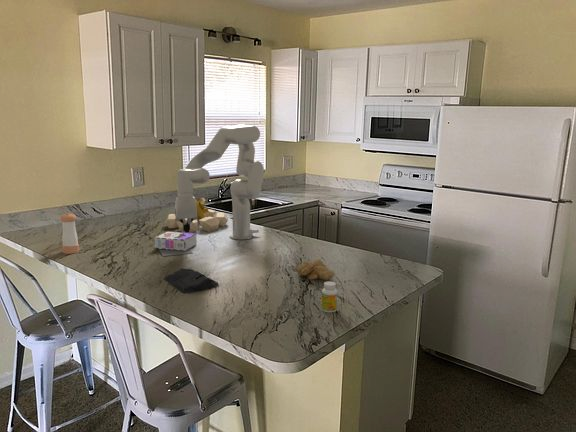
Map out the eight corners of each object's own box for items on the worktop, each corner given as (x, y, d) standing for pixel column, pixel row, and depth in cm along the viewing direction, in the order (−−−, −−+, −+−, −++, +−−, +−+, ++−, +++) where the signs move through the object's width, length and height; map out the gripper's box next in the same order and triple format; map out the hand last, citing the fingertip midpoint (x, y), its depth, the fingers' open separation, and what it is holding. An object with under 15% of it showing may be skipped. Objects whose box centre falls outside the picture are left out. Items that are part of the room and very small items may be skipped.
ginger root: (293, 267, 210) (298, 250, 208) (328, 276, 210) (333, 259, 208) (292, 280, 194) (297, 262, 192) (330, 290, 195) (335, 272, 193)
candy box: (185, 239, 232) (153, 237, 236) (185, 251, 234) (154, 249, 237) (196, 233, 246) (166, 230, 249) (196, 244, 247) (166, 242, 250)
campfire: (238, 226, 288) (237, 198, 284) (192, 237, 263) (191, 206, 259) (201, 217, 310) (200, 191, 307) (155, 226, 286) (154, 198, 282)
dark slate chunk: (195, 272, 206) (195, 262, 205) (221, 287, 189) (221, 276, 188) (161, 279, 197) (160, 268, 196) (185, 296, 180) (185, 284, 179)
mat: (185, 246, 244) (185, 245, 244) (192, 253, 232) (192, 252, 232) (157, 248, 238) (157, 248, 238) (163, 256, 226) (163, 255, 226)
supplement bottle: (319, 311, 167) (320, 284, 165) (323, 305, 172) (324, 279, 170) (334, 313, 165) (335, 287, 163) (338, 308, 170) (339, 281, 168)
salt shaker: (73, 254, 227) (69, 214, 223) (59, 253, 229) (55, 213, 225) (82, 250, 234) (79, 211, 230) (69, 249, 236) (65, 210, 232)
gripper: (198, 192, 238) (199, 228, 242) (168, 194, 232) (169, 231, 236) (202, 195, 232) (203, 232, 236) (171, 197, 225) (172, 235, 229)
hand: (186, 231), depth 236 cm, fingers closed
